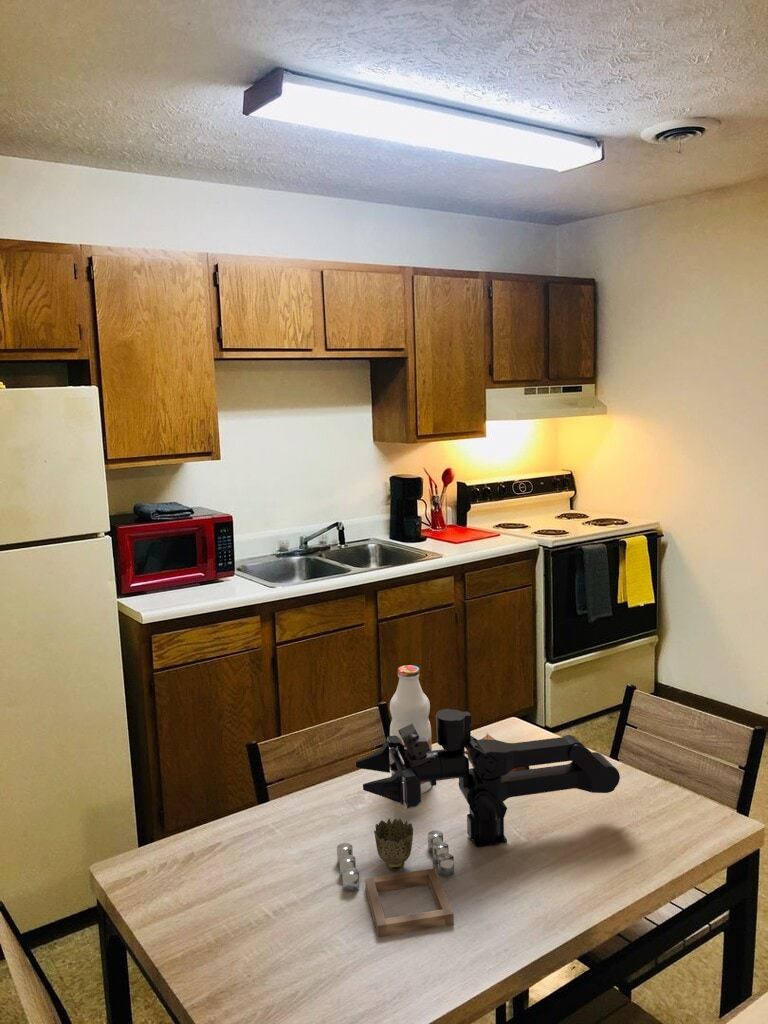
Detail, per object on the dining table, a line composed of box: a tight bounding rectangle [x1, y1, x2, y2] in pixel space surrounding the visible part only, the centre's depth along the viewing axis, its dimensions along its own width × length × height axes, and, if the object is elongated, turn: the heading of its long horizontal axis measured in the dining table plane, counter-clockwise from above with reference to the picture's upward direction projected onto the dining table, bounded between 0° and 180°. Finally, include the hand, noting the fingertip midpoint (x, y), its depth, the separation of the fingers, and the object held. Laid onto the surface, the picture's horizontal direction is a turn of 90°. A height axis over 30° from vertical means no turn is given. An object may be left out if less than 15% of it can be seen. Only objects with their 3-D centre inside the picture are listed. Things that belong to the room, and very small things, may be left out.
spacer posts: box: [336, 830, 455, 893], centre depth 147 cm, size 21×11×3 cm, turn 101°
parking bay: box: [364, 867, 455, 937], centre depth 136 cm, size 13×13×2 cm
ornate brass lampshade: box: [373, 817, 414, 872], centre depth 146 cm, size 8×7×8 cm
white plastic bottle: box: [389, 664, 433, 794], centre depth 175 cm, size 9×9×28 cm
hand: (359, 775), depth 149 cm, fingers open, 9 cm apart
